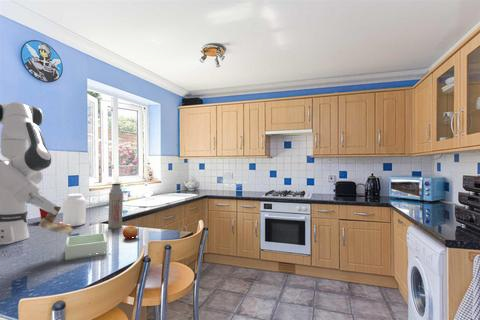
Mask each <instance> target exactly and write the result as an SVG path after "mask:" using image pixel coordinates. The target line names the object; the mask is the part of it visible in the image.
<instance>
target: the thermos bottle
mask: <svg viewBox="0 0 480 320" xmlns="http://www.w3.org/2000/svg"><path fill="white" fill-rule="evenodd" d="M122 190H123V189H122V188H121V183H112V184H111V188H110V191H109V194H108V221H107V222H108V225H107V228H108V229H120V228H122V227H123V198H124V197H123V196H124V192H123V191H122Z"/></svg>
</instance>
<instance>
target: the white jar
mask: <svg viewBox="0 0 480 320" xmlns="http://www.w3.org/2000/svg"><path fill="white" fill-rule="evenodd" d="M62 204H63V209H62V210H63V212H62V223H64V225H65V224H70V225H71V227H77V226H82V225H84V224H86V212H87V211H86V207H87V205H86V204H87V200H86V198H85V197H84V195H83V193H69V194H67V195H66V197H65V199H64V200H63V203H62Z"/></svg>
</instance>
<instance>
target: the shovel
mask: <svg viewBox="0 0 480 320" xmlns="http://www.w3.org/2000/svg"><path fill="white" fill-rule="evenodd" d="M61 208H62V207H61V206H58V205H57V206H55V207H54V209H55V210H56V211H57V213H56V214H55V215H53V214H52V213H51V212H48V214H47V215H46V217H45V219H43V218H42V220H40V222H39V224H38V226H39V227H40V228H42V229H43V230H46V231H52V232H56V233H59V234H65V235H67V236H68V235H69V236H72V235H71V234H72V233H73V231H74V228H73V227H71V228H68V227H64V226H61V225H57V223H58V222H54V221H55V219H56V217H57V215H58V214H59V212H60V210H61Z"/></svg>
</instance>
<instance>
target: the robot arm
mask: <svg viewBox="0 0 480 320" xmlns="http://www.w3.org/2000/svg"><path fill="white" fill-rule="evenodd" d="M43 121H44V113H43V111H42V110H41V108H39V107H36V106H29V105H26V104H24V103H23V102H17V101H16V102H15V101H12V102H9V103H0V125H2V127H1V132H0V154H1V156H2V157H4V158H6V159H5V160H2V159H0V245H9V244H13V243H16V242H20V241H25V240H27V239H30V233H29V229H28V221H29V219H28V218H29V214H28V208H27V207H28V204H31V205H33V206H35V207H36V208H38V209H39V208H41V209H43V210H45V211H47V212H51V213H52V214H53V215H55V214H56V213H57V211H56V210H55V209H54V207H55V205H54V204H53V203H54V202H51V200H49V199H48V198H46V197H45V196H44V195H42V192H41V190H40V189H41V186H39V185H38V184H40V183H41V182H42V181H43V178H44V173H43V171H42V170H45V169H47V168H49V167H50V166H51V165H52V164H51V163H52V155H51V154H50V152H49V150H48V149H47V148H48V147H47V145H46V143H45V140H44V137H43V134H42V133H43V132H42V131H41V129H40V127H39V126H40V125H42V122H43Z"/></svg>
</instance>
